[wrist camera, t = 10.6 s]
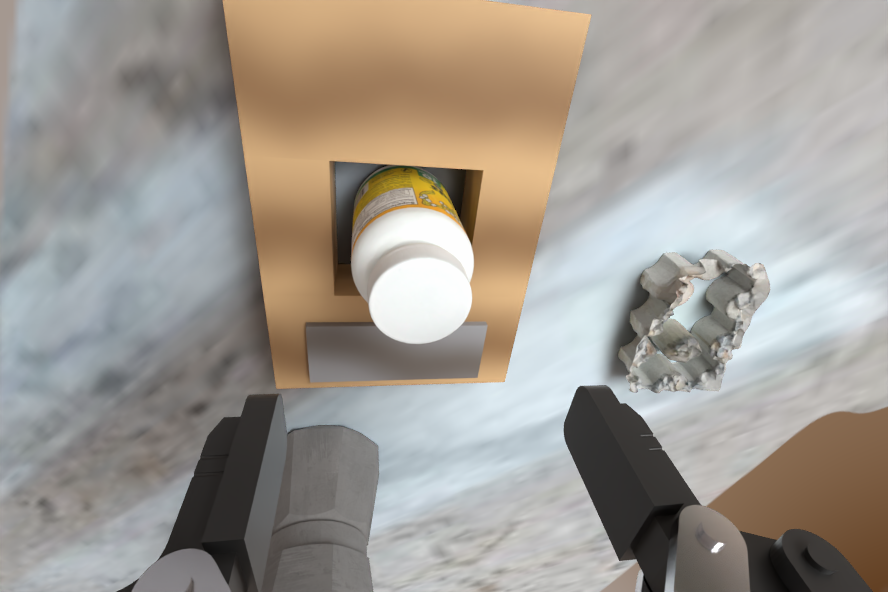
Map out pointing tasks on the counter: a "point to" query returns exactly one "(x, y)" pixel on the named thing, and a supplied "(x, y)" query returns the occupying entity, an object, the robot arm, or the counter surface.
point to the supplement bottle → (410, 255)
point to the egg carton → (709, 335)
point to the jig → (396, 163)
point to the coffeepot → (324, 513)
